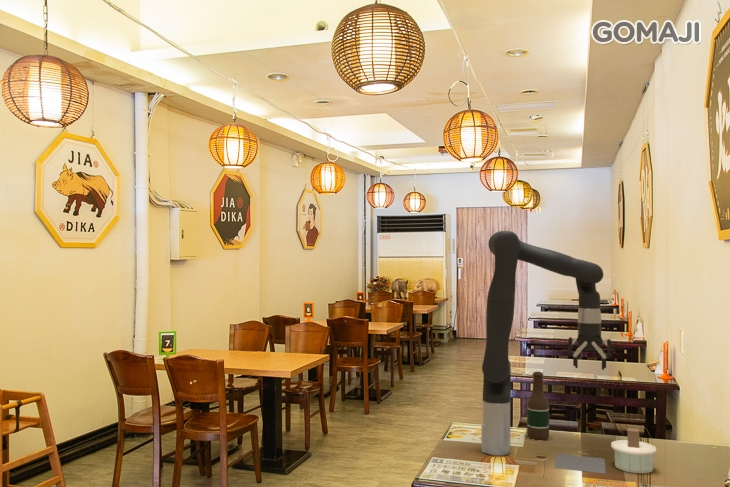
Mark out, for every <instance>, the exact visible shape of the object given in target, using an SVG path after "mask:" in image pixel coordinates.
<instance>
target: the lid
mask: <svg viewBox="0 0 730 487" xmlns="http://www.w3.org/2000/svg"><path fill="white" fill-rule="evenodd" d="M610 445H611V446H610V447H611V449H613V451H614V452H615V451H618V452H621V453H625V454H630V455H640V456H646V455H653V456H654V455H655V454H656V453H657V447H656V446H655V445H653V444H651V443H648V442H646V441H645V442H644V441H640V429H639V428H631V427H630V428H627V439H619V440H618V439H617V440H614V441H612V442H611V443H610Z"/></svg>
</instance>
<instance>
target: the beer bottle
mask: <svg viewBox="0 0 730 487" xmlns="http://www.w3.org/2000/svg"><path fill="white" fill-rule="evenodd" d="M532 377H533V379H532V380H533V381H532V392H531V395H530V397H529V398H528V400H527V406H526V408H527V409H526V419H527V421H526V422H527V423H526V425H527V426H526V429H527V430H526V431H527V432H526V433H527V434H526V435H527V438H528V437H529V438H528V439H530V440H531V439H534V440H533V441H538V440H544V441H547V440H549V438H550V404H549V401H548V400H549V399H548V398H547V397H546V396H545V393H544V392H545V391H544V379H543V377H544V373H543V372H541V371H533V373H532Z"/></svg>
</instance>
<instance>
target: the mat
mask: <svg viewBox="0 0 730 487" xmlns="http://www.w3.org/2000/svg"><path fill="white" fill-rule="evenodd" d="M605 461H606V460H605V458H601V457H593V456H589V457H588V456H584V455H583V456H582V455H571V454H563V453H562V454H561V453H556V457H555V461H554V469H560V470H562V469H563V470H567V471H579V472H588V473H594V474H595V473H598V474H606V462H605Z"/></svg>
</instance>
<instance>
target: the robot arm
mask: <svg viewBox="0 0 730 487" xmlns="http://www.w3.org/2000/svg"><path fill="white" fill-rule="evenodd" d="M488 249H489V250H490V252H491V253H492V254H493V256H494V270H493V275H492V280H491V282H490V285H489V289H488V292H487V298H486V312H485V313H486V314H485V315H486V316H485V317H486V318H485V319H486V320H485V326H486V327H485V328H486V329H485V330H486V331H485V332H486V339H485V340H486V342H485V350H484V356H483V361H482V364H481V371H482V374H483V385H482V387H483V388H482V423H481V453H484V454H488V455H491V456H506V455H507V456H508V455H510V453H511V392H512V391H511V390H512V388H511V387H512V384H511V382H512V380H511V378H512V376H511V374H512V371H511V368H512V367H511V362H510V360H509V342H510V336H511V332H512V328H513V322H514V317H515V316H514V315H515V305H516V304H515V302H516V301H515V300H516V299H515V298H516V282H517V281H516V276H517V274H516V273H517V266H518V262H519V261H521V262H525V263H528V264H531V265H532V266H533V265H535V266H537V267H539V268H542V269H544V270H546V271H549V272H552V273H554V274H555V273H556V274H558V275H561V276H565V277H570V278H574V279H575V284H576V289H577V293H578V313H577V337H572V336H570V337H568V342H567V343H568V344H567V345H568V346H567V355H568V356H571V357H572V358H573V360H572V361H573V362H572V364H573V367H574V368H575V369H578V357H579V356H578V355H579V354H580V353H581V352H582V350H583V351H585V352H596V351H597V353H598V354H599V355H600V356H601V370H602V371H604V370H605V369H606V368H607V359H608V358H611V357H612V356H613V354H612V353H613V352H612V340H611V339H610V338H607V339H605V338H604V339H603V338H602V313H601V294H600V292H599V291H597V287H596V284H598V283H600V282H601V281H602V280H603V277H604V270H603V269H602V267H601V266H600V265H598V264H597V263H593V262H591V261H587V260H584V259H579V258H574V257H573V256H570V255H567V254H564V253H562V252H558V251H556V250H552V249H548V248H545V247H540V246H535V245H533V244H529V243H526V242H524V241H522V240H520V238H519V236H518V235H517V233H515V232H514V231H511V230H500V231H497V232H495V233H493V234H492V235H491V236H490V238H489V240H488ZM575 342H577V344H578V345H579V346H578V347H577V349H576V350H575V351H572V350H573V345H574V344H576V343H575ZM602 344H604V345H605V346H606V347H607V353H605V352H604V350H603V349H602V348H601V347H600V346H601V345H602Z"/></svg>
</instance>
